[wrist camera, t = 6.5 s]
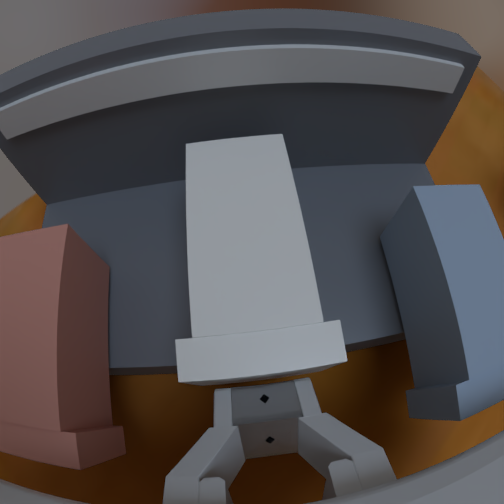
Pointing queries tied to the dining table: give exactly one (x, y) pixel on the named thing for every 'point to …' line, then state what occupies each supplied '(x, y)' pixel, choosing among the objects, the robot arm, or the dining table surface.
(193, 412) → the dining table surface
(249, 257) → the ivory key
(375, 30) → the console
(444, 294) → the slate-blue key
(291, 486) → the dining table surface
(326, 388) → the dining table surface
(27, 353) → the terracotta key
